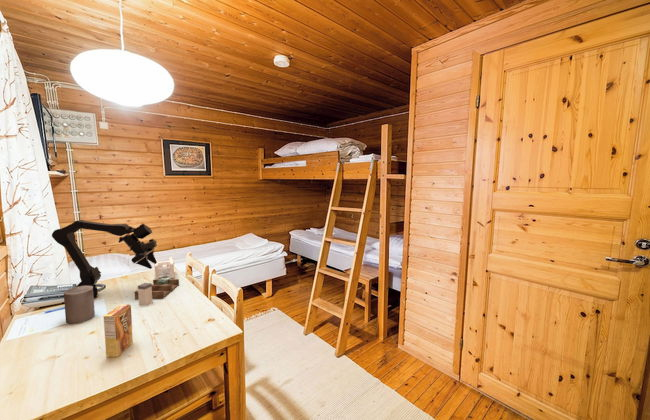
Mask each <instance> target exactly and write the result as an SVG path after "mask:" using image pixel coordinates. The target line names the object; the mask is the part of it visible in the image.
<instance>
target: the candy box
mask: <svg viewBox="0 0 650 420" xmlns="http://www.w3.org/2000/svg"><path fill="white" fill-rule="evenodd" d="M132 319H133V318H132V305H131V304H119V305H118V306H116V307H115V308H113V309H112V310H110V311H109V312H108V313H106V314H104V315H103V329H104V343H105V356H106V358H116V357H117V358H118V357H119V356H120V355H121V354H122V353H123V352H124V351H125V350H126V349H128V347H129V346H130V345H132V343H133V342H134V341H133V322H132V321H133V320H132Z"/></svg>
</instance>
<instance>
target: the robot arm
mask: <svg viewBox="0 0 650 420" xmlns="http://www.w3.org/2000/svg"><path fill="white" fill-rule="evenodd" d="M81 229H83V230H89V231H90V230H91V231H98V232H104V233H107V234H108V233H109V234H111V235H113V236H118V243H122V242H124V243H125V245H127V247H128V248H129V249H128V250H129V251H130V252H131V251H132V252H133V253H134V254H135V255H134V256H133V257H132V258H131V263H133V264H135V265H139V266H142V267H144V268H147V269H150V270H151V269H152V268H153V266H152V265H151V263H152V264H156V263H157V261H156V259H157V258H156V257H155V254H154V253H155V250H156V249H155V248H156V247H157V246H158V244H157V240H155V239H154V238H151V239H149V240H148V241H147V242H144V241H141V240H143V239H145V238H147V237H148V236H150V235H151V234H153V230H152V228H150V226H148V225H146V224H145V223H144V222H143V223H141V224H140V225H138V227H133V226H130V225H128V224H127V223H104V222H103V223H102V222H96V221H89V220H84V219H79V220H75V221H73V222H72V223H70V224H68V225H66V226H64V227H61V228H58V229H55V230H53V232H52V234H51V237H52V239H53V240H54V241H55V242H56V243H57V244H59V245H61V246H62V247H64V249H65V251H66V252H67V254H68V255H69V257H70V258H71V260H72V262H73V263H74V264H75V266H76V267H77V269H78V272H79V278H80V282H79V283H78V284H77V285H76V286H75V287H79V286H93V296H94V299H95V298H96V299H97V298H98V296H99V294H98V293H99V292H98V291H99V290H98V287H97V286H96V284H97V282H98V281H99V280H100V279H101V277H102V274H101V273H102V272H101V271H100V270H99V267H98V266H95V267H94V266H92V265H91V264H90V262H89V260H88V259H87V258H86V257H85V256H86V255H84V253H83V252H82V250H81V248H80V246H79V245H78V243H77V241H76V234H75V233H76V232H78V231H79V230H81ZM150 262H151V263H150Z"/></svg>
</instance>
